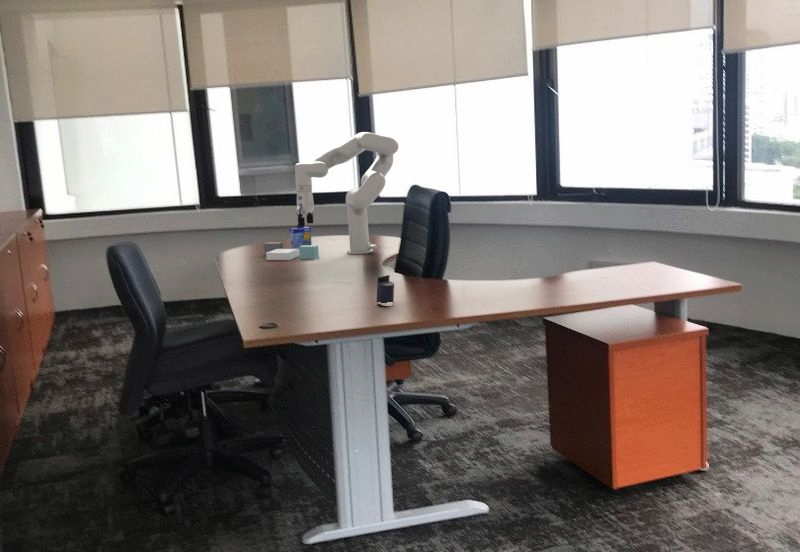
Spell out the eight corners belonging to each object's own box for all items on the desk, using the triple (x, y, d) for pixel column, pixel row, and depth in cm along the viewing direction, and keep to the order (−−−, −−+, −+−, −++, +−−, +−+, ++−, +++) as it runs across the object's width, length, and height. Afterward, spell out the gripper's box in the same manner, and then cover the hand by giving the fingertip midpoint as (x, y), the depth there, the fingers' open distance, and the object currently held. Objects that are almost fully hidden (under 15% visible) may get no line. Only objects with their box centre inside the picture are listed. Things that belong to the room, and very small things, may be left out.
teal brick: (318, 257, 440) (318, 245, 439) (315, 259, 436) (314, 246, 435) (303, 257, 443) (303, 245, 442) (299, 259, 439) (299, 246, 438)
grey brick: (283, 253, 457) (282, 242, 456) (279, 255, 453) (278, 243, 452) (269, 253, 460) (268, 242, 459) (265, 255, 456) (264, 243, 455)
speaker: (372, 303, 327) (373, 275, 325) (387, 302, 330) (388, 274, 327) (380, 309, 321) (381, 281, 318) (395, 308, 323) (396, 280, 320)
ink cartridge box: (295, 253, 456) (292, 224, 454) (290, 252, 461) (288, 223, 459) (312, 250, 461) (310, 222, 459) (308, 249, 466) (306, 221, 463)
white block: (299, 255, 448) (299, 248, 447) (289, 260, 436) (288, 252, 436) (277, 255, 452) (277, 248, 451) (266, 259, 440) (266, 252, 440)
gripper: (303, 190, 424) (305, 226, 427) (318, 187, 440) (320, 222, 443) (288, 190, 426) (290, 226, 429) (304, 187, 443) (306, 222, 446)
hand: (305, 224), depth 436 cm, fingers open, 9 cm apart
